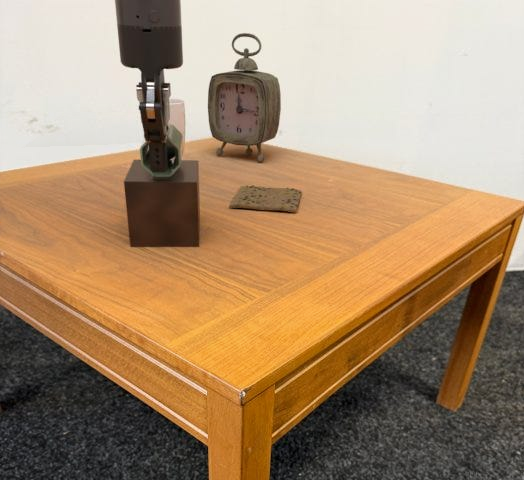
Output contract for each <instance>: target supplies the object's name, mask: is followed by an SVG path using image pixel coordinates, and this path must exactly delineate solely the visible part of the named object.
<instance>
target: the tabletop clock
mask: <svg viewBox="0 0 524 480" xmlns="http://www.w3.org/2000/svg"><path fill="white" fill-rule="evenodd" d="M240 38H252V39H253V40H255V41H256V42H257V43H258V44H257V45H258V46H259V47H258V49H257V50H255V51H253V52H250V50H249V48H244V49H243V51H240V50H238V49H237V48H235V42H236V41H237V40H238V39H240ZM231 47H232V50H233V51H234V53H235V54H237V55H239V56H241V58H239V59H237V60H236V62H235V64H234V66H233V69H234V70H232V71H231V70H230V71H226V72H219V73H215V74H213V75H211V77H210V80H209V85H208V89H207V90H208V92H207V95H208V96H207V116H208V124H209V125H208V126H209V130H210V133H211V136H212V138H214V139H216V140H217V141H219V142H222V144H221V146H220V147H218V148H217V149H216V151H215V153H216V155H217V156H222V155H223V154H224V150H223V149H224V148H225V147H226V145H227V144H229V145H234V146H244V147H247V148H245V154H246V155H247V156H251V155H252V154H253V149H252V148H251V147H254V146H256V149H257V152H258V153H257V154H258V155H257V157H256V159H257V162H259V163H262V162H264V161H265V156H264V155H263V154H262V144H263V143H266V142H268V141H271V140H274V139H275V138H276V136H277V134H278V131H279V126H280V121H281V113H282V112H281V111H282V110H281V109H282V105H281V104H282V103H281V101H282V99H281V97H282V96H281V87H280V82H279V79H278V77H277V76H275V75H274V74H271V73H268V72H263V71H259V68H258V64H257V62H256V61H255V59H253V58H251V57H254V56H256V55H258V54H259V53H261V50H262V42H261V39H259V37H258V36H257V35H255V34H252V33H250V32H249V33H247V32H243V33H239V34H237V35H235V36H234V37H233V39H232V41H231Z"/></svg>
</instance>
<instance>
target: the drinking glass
mask: <svg viewBox="0 0 524 480" xmlns="http://www.w3.org/2000/svg"><path fill="white" fill-rule="evenodd" d="M169 106H170V120H169V122H168V123H171V125H172V124H173V125H174V126H175V127H176V129H177V130H178V131H179V132H180V133H181V134H182V136H183V149H184V150H183V156H182V160H185V147H186V108H185V107H186V106H185V100H183V99H180V98H171V97H170V98H169Z"/></svg>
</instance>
